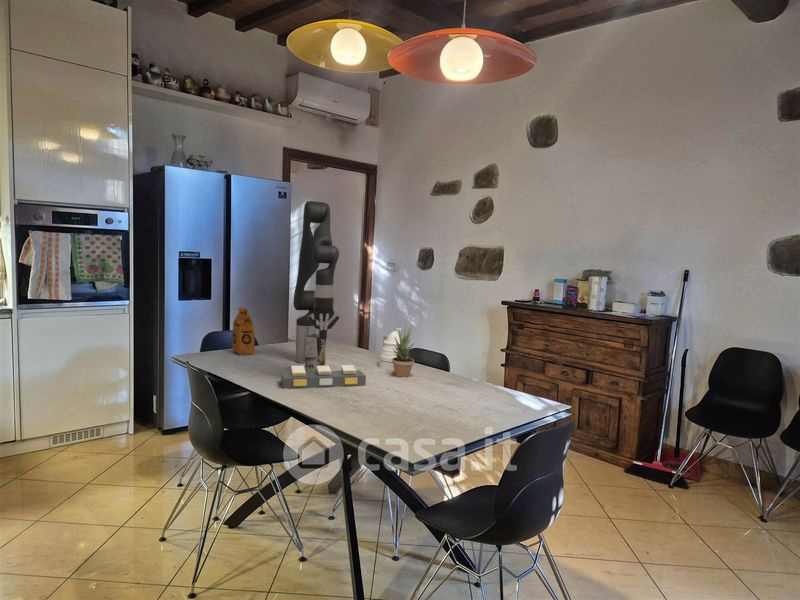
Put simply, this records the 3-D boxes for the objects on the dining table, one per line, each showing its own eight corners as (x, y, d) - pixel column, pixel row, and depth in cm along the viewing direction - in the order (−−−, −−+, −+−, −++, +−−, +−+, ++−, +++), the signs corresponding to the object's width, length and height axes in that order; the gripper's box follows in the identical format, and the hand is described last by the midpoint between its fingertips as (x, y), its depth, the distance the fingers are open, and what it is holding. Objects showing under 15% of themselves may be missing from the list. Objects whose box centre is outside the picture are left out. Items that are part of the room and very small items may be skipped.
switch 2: (316, 368, 225) (316, 365, 225) (328, 368, 227) (328, 365, 226) (318, 375, 220) (318, 371, 219) (331, 374, 221) (331, 371, 221)
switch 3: (340, 368, 228) (340, 364, 228) (352, 367, 230) (353, 364, 230) (343, 374, 223) (344, 371, 222) (356, 373, 224) (356, 370, 224)
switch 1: (291, 368, 222) (291, 365, 222) (303, 368, 224) (303, 365, 223) (292, 376, 217) (293, 373, 216) (305, 376, 218) (306, 373, 218)
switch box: (281, 382, 224) (281, 372, 223) (359, 379, 233) (359, 370, 233) (284, 389, 214) (284, 378, 213) (365, 386, 223) (366, 376, 223)
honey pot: (402, 363, 268) (404, 326, 266) (410, 369, 255) (412, 330, 254) (376, 364, 264) (377, 326, 262) (382, 370, 252) (384, 330, 250)
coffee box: (318, 375, 238) (319, 337, 236) (304, 373, 239) (305, 336, 237) (325, 370, 246) (326, 334, 245) (311, 369, 248) (312, 333, 246)
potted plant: (415, 378, 240) (418, 321, 237) (394, 378, 237) (396, 320, 235) (409, 372, 249) (412, 317, 247) (388, 373, 247) (391, 317, 244)
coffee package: (236, 356, 268) (236, 310, 266) (230, 351, 279) (231, 306, 276) (256, 354, 273) (257, 309, 270) (250, 349, 283) (251, 306, 281)
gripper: (338, 295, 228) (337, 337, 230) (306, 294, 224) (304, 337, 226) (342, 297, 221) (340, 340, 223) (308, 296, 217) (307, 341, 219)
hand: (322, 339), depth 224 cm, fingers closed
